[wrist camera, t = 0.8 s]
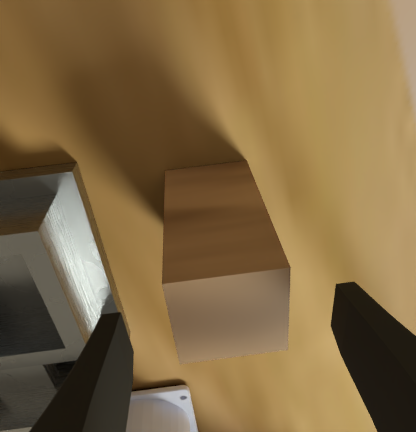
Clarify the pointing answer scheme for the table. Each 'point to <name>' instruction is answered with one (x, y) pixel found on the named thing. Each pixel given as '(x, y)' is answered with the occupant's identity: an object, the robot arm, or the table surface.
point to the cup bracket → (46, 286)
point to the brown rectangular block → (222, 265)
